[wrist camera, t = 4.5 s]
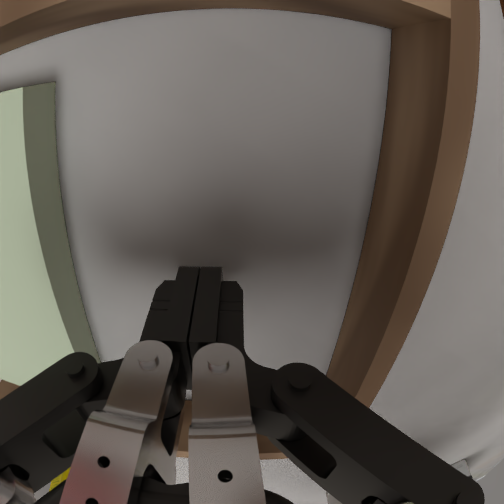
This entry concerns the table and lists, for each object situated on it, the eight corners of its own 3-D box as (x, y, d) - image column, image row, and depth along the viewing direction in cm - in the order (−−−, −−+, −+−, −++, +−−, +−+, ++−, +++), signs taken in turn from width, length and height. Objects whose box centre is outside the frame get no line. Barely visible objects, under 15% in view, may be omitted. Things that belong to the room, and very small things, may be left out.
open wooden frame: (417, 0, 7) (478, -15, 4) (328, 409, 18) (337, 456, 15) (-88, 78, 6) (-133, 94, 3) (15, 382, 17) (-1, 417, 14)
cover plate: (61, 80, 9) (22, 87, 6) (109, 374, 17) (99, 407, 15) (-58, 110, 8) (-92, 123, 6) (11, 351, 16) (-4, 377, 14)
